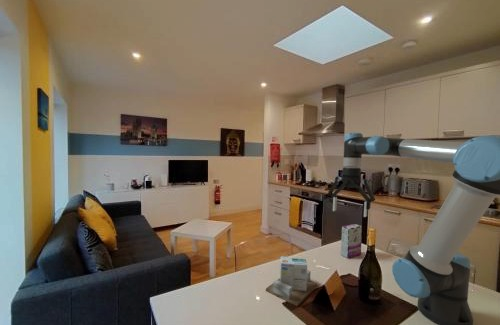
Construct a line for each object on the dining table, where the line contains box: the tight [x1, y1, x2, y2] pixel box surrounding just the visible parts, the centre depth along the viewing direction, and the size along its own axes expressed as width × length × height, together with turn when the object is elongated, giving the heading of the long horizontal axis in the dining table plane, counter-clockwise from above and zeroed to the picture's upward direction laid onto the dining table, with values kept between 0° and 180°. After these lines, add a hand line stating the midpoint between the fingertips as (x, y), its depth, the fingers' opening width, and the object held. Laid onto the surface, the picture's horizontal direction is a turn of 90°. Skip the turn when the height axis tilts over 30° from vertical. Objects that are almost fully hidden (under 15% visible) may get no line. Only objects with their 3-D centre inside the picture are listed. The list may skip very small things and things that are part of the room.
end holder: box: [265, 269, 319, 307], centre depth 97 cm, size 14×18×5 cm
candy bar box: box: [340, 223, 363, 259], centre depth 131 cm, size 11×5×16 cm, turn 119°
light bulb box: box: [279, 256, 308, 291], centre depth 96 cm, size 11×7×11 cm, turn 84°
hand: (349, 213), depth 108 cm, fingers open, 13 cm apart
